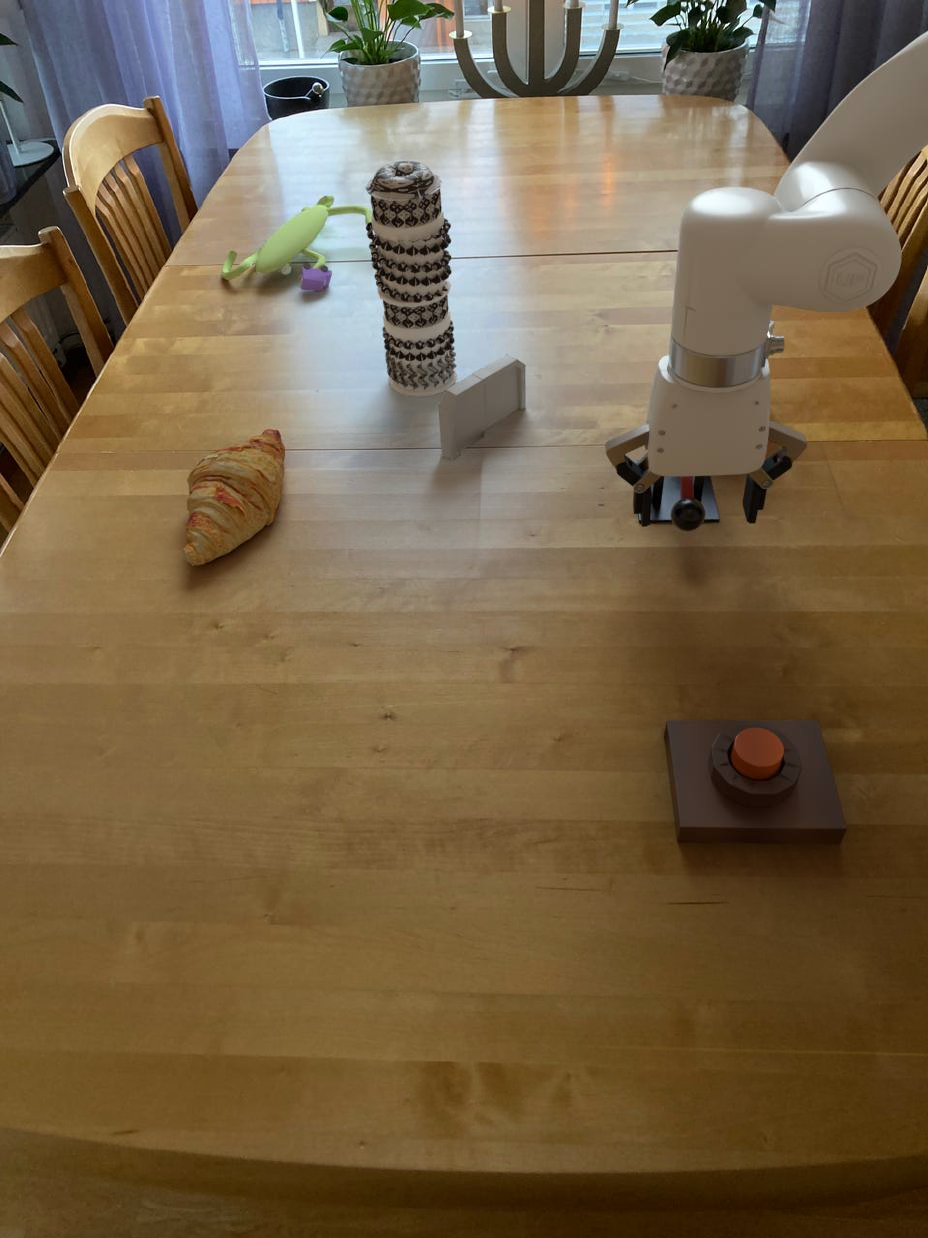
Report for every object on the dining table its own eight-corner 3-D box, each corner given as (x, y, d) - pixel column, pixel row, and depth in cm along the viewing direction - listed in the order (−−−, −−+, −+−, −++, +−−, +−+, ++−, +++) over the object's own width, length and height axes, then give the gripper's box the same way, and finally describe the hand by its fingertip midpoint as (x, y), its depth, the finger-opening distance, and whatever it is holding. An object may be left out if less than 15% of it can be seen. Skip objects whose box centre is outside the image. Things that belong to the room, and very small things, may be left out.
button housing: (812, 736, 79) (823, 705, 76) (840, 844, 72) (853, 815, 69) (663, 736, 80) (668, 705, 77) (677, 843, 73) (683, 813, 70)
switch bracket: (718, 528, 97) (736, 430, 89) (638, 529, 98) (648, 432, 89) (705, 467, 104) (720, 371, 96) (630, 469, 105) (639, 373, 96)
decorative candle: (444, 403, 115) (428, 191, 97) (373, 392, 118) (344, 183, 100) (470, 364, 121) (459, 156, 103) (402, 353, 124) (380, 149, 106)
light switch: (526, 413, 113) (525, 354, 107) (452, 460, 107) (447, 400, 102) (515, 408, 114) (514, 348, 108) (441, 454, 108) (436, 393, 103)
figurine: (422, 237, 147) (418, 200, 143) (298, 311, 133) (290, 272, 129) (333, 211, 155) (328, 175, 151) (208, 278, 141) (199, 240, 137)
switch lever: (703, 535, 92) (709, 524, 89) (669, 536, 93) (673, 525, 89) (696, 410, 95) (702, 395, 92) (664, 410, 96) (668, 396, 93)
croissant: (230, 603, 98) (249, 557, 92) (137, 558, 96) (150, 508, 90) (303, 473, 112) (324, 426, 106) (223, 432, 110) (239, 381, 104)
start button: (775, 741, 74) (779, 727, 73) (783, 780, 72) (788, 766, 70) (727, 741, 74) (730, 727, 73) (734, 780, 72) (738, 766, 71)
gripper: (816, 324, 80) (783, 487, 92) (605, 333, 82) (600, 493, 94) (836, 373, 75) (798, 539, 87) (611, 382, 76) (605, 545, 89)
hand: (696, 515), depth 90 cm, fingers open, 9 cm apart
